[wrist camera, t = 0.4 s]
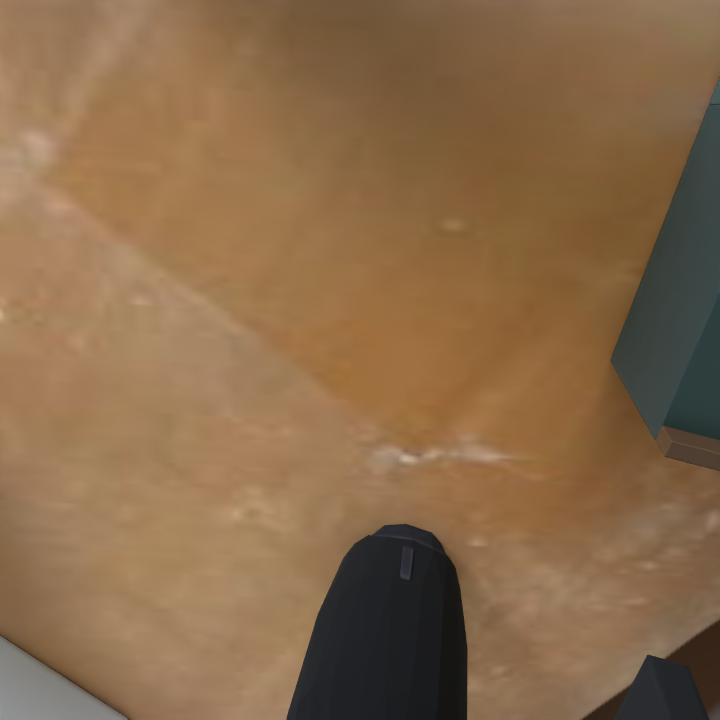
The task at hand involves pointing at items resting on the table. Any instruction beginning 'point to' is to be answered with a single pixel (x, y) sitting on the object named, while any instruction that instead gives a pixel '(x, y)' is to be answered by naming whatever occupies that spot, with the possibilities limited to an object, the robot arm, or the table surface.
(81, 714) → the bracket
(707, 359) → the dark green stepped block
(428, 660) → the portable speaker
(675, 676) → the robot arm
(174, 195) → the table surface
